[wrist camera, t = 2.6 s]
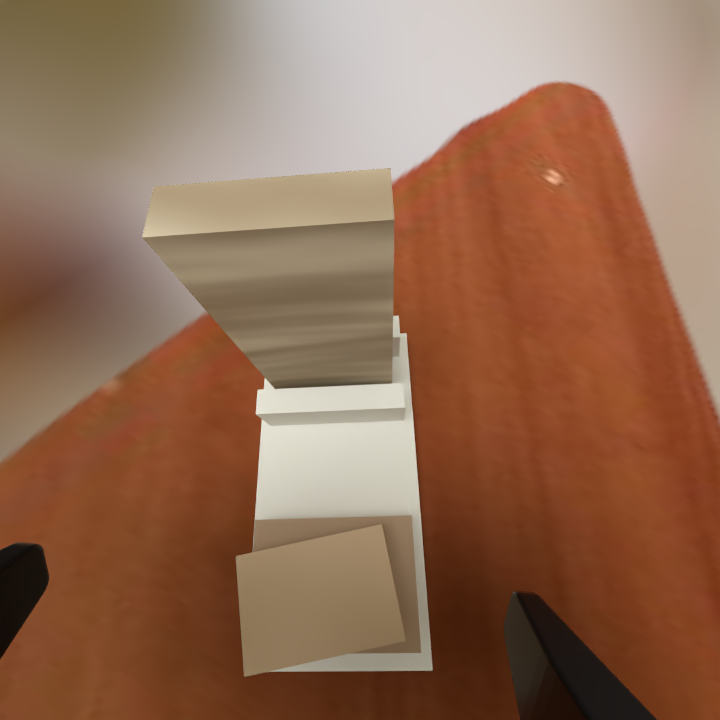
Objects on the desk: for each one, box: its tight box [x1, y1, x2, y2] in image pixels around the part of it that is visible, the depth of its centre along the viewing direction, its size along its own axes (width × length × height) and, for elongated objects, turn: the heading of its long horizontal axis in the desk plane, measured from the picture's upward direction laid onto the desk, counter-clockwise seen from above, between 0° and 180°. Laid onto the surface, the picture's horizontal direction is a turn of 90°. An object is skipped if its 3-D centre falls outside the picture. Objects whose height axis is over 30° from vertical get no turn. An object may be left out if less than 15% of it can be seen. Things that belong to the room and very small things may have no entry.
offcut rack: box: [236, 316, 433, 677], centre depth 19 cm, size 16×8×4 cm, turn 2°
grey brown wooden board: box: [142, 168, 394, 389], centre depth 16 cm, size 2×6×13 cm, turn 92°
